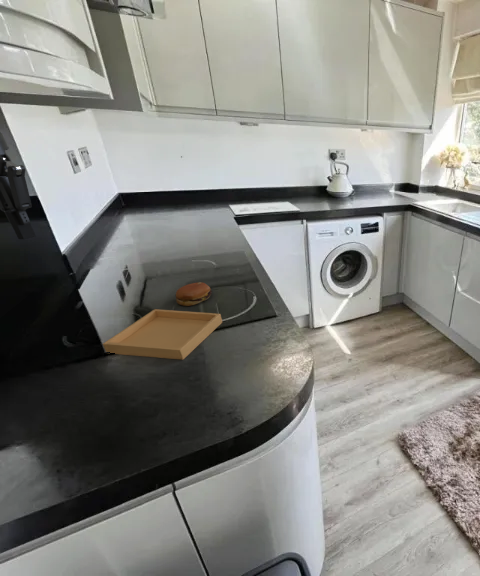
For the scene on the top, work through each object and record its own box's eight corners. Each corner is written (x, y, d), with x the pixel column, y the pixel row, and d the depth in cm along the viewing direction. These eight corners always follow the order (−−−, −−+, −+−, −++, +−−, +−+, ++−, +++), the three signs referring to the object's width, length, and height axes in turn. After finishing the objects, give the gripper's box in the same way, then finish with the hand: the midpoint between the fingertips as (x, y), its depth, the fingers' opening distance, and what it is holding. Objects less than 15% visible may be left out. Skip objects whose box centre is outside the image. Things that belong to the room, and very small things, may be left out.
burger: (172, 307, 97) (168, 294, 95) (184, 294, 105) (180, 281, 103) (207, 305, 99) (204, 291, 97) (216, 292, 107) (213, 279, 105)
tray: (106, 353, 77) (102, 343, 76) (157, 317, 92) (154, 309, 91) (183, 359, 75) (180, 350, 74) (222, 322, 90) (220, 313, 89)
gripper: (22, 130, 71) (66, 234, 81) (-30, 129, 72) (20, 232, 83) (-20, 130, 64) (34, 243, 75) (-76, 129, 66) (-15, 240, 76)
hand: (27, 237), depth 79 cm, fingers closed
